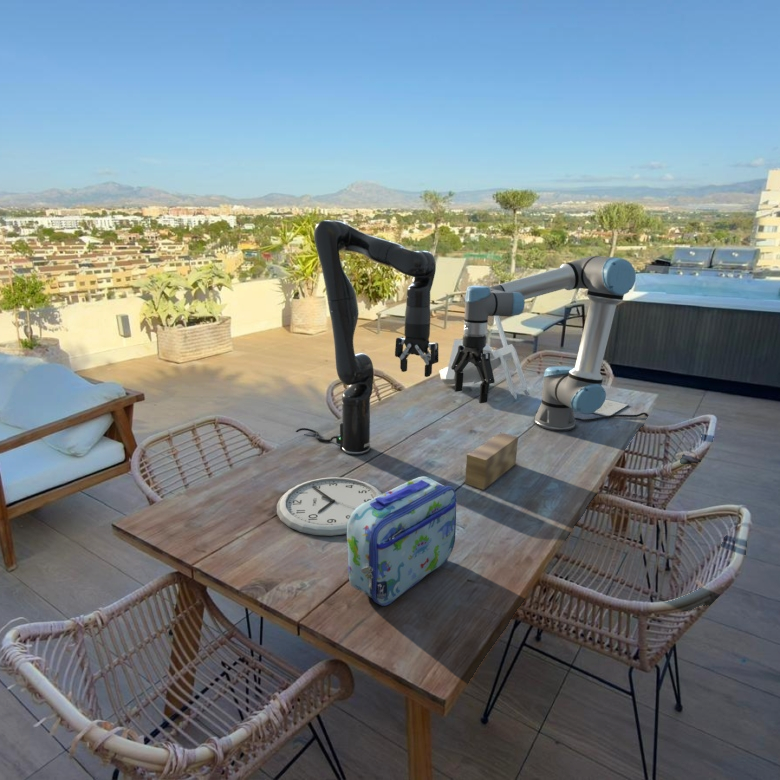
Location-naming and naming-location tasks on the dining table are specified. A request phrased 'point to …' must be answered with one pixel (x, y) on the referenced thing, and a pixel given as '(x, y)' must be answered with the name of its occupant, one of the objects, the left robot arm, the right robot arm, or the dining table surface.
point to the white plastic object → (495, 358)
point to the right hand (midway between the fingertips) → (470, 396)
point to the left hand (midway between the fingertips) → (415, 373)
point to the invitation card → (610, 408)
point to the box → (491, 460)
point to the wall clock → (324, 504)
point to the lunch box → (400, 538)
